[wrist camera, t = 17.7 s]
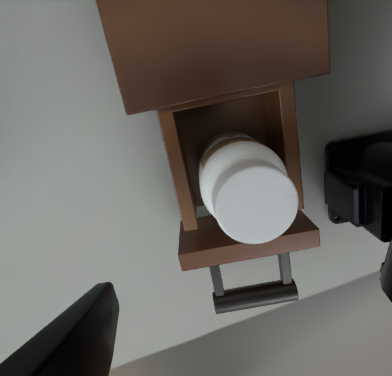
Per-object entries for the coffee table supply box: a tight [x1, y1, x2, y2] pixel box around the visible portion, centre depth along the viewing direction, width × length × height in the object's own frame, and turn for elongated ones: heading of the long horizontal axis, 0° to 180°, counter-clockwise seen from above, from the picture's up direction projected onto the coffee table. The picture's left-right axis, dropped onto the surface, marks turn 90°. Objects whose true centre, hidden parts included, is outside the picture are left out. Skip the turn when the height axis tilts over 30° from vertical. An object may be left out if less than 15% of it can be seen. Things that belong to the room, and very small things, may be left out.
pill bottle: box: [198, 132, 299, 244], centre depth 15 cm, size 4×4×8 cm
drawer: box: [156, 81, 320, 314], centre depth 18 cm, size 14×8×5 cm, turn 11°
